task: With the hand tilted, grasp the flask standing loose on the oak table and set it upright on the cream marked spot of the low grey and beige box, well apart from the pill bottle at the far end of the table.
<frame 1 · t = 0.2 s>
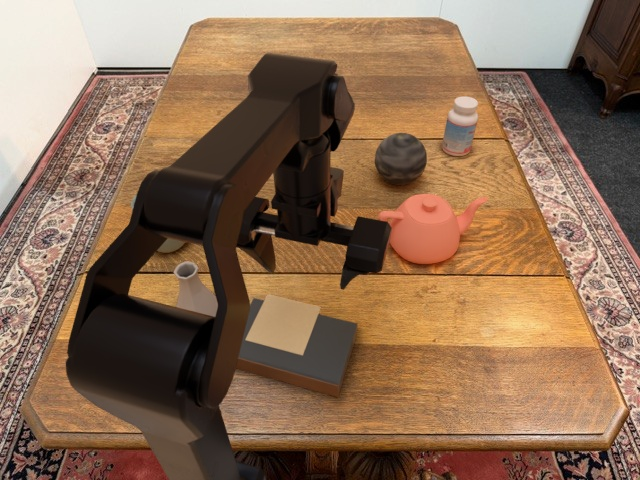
hand: (307, 278, 59), 14 cm above the table, tool pointing down, fingers open, 9 cm apart
flask: (200, 313, 72), on the table
grey and beige box: (293, 349, 67), on the table
teapot: (426, 242, 82), on the table
cup: (170, 244, 83), on the table
decorative stone: (397, 180, 95), on the table
pill bottle: (455, 150, 102), on the table
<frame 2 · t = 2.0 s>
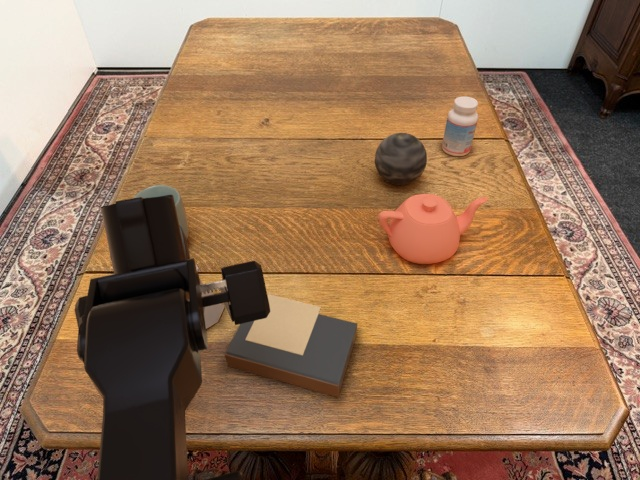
hand: (185, 299, 57), 13 cm above the table, tool tilted 45°, fingers open, 9 cm apart
nothing on the table moved.
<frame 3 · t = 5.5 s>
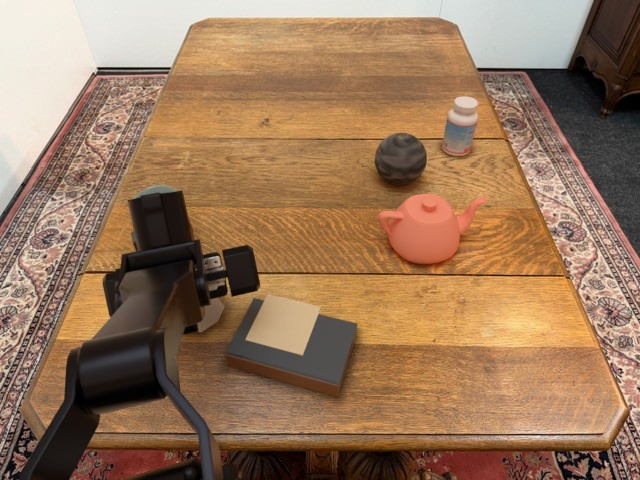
hand: (190, 278, 69), 7 cm above the table, tool tilted 45°, fingers closed on flask, 3 cm apart
flask: (200, 313, 72), on the table, touching gripper
everything else where it was.
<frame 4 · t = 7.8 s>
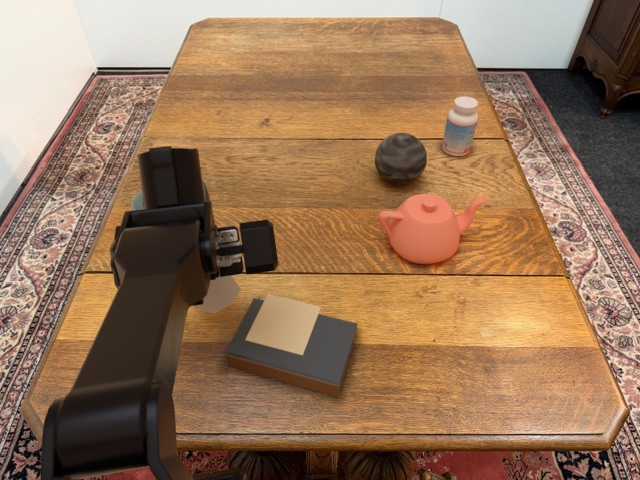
hand: (205, 254, 64), 12 cm above the table, tool tilted 45°, fingers closed on flask, 3 cm apart
flask: (214, 294, 68), point 5 cm above the table, touching gripper
everything else where it was.
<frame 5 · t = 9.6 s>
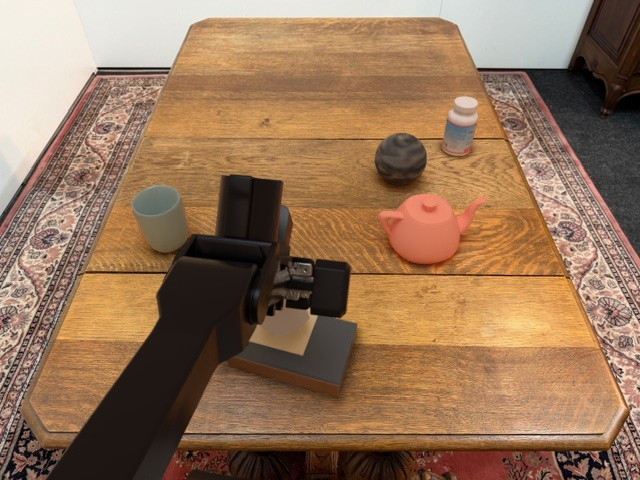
hand: (281, 276, 62), 12 cm above the table, tool tilted 45°, fingers closed on flask, 3 cm apart
flask: (282, 315, 65), point 5 cm above the table, touching gripper
everything else where it was.
when the fingers open (10 cm above the table, at t = 10.6 s): flask stays where it is, resting on grey and beige box.
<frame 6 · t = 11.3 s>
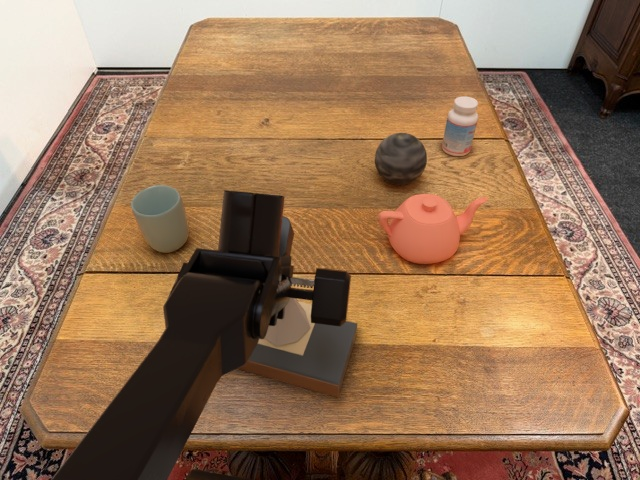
hand: (282, 282, 63), 10 cm above the table, tool tilted 45°, fingers open, 9 cm apart
flask: (284, 325, 67), point 3 cm above the table, touching grey and beige box
everything else where it was.
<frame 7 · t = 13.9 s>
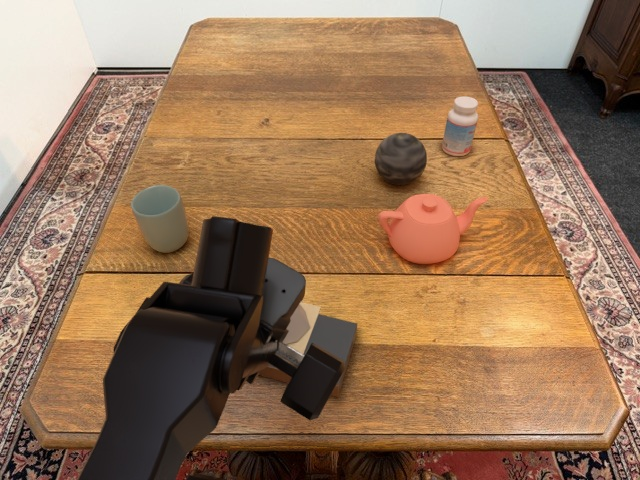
hand: (269, 339, 55), 11 cm above the table, tool tilted 35°, fingers open, 9 cm apart
nothing on the table moved.
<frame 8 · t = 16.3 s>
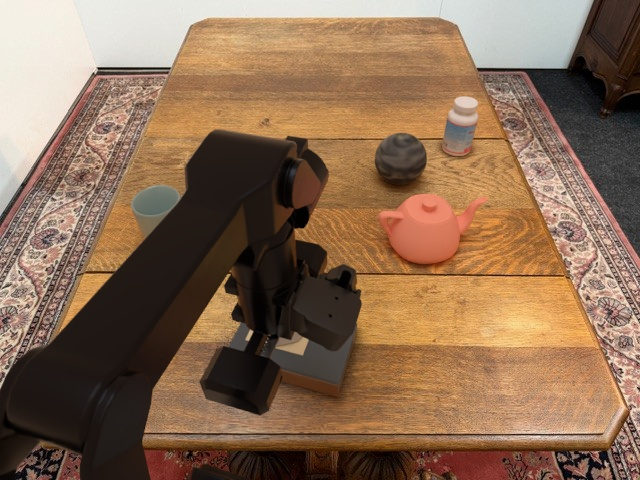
hand: (277, 359, 52), 13 cm above the table, tool pointing down, fingers open, 9 cm apart
nothing on the table moved.
at the end: flask 0.3 cm from the target spot on the grey and beige box, point 3.0 cm above the grey and beige box's base; flask tilted 0°; flask touching grey and beige box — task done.
